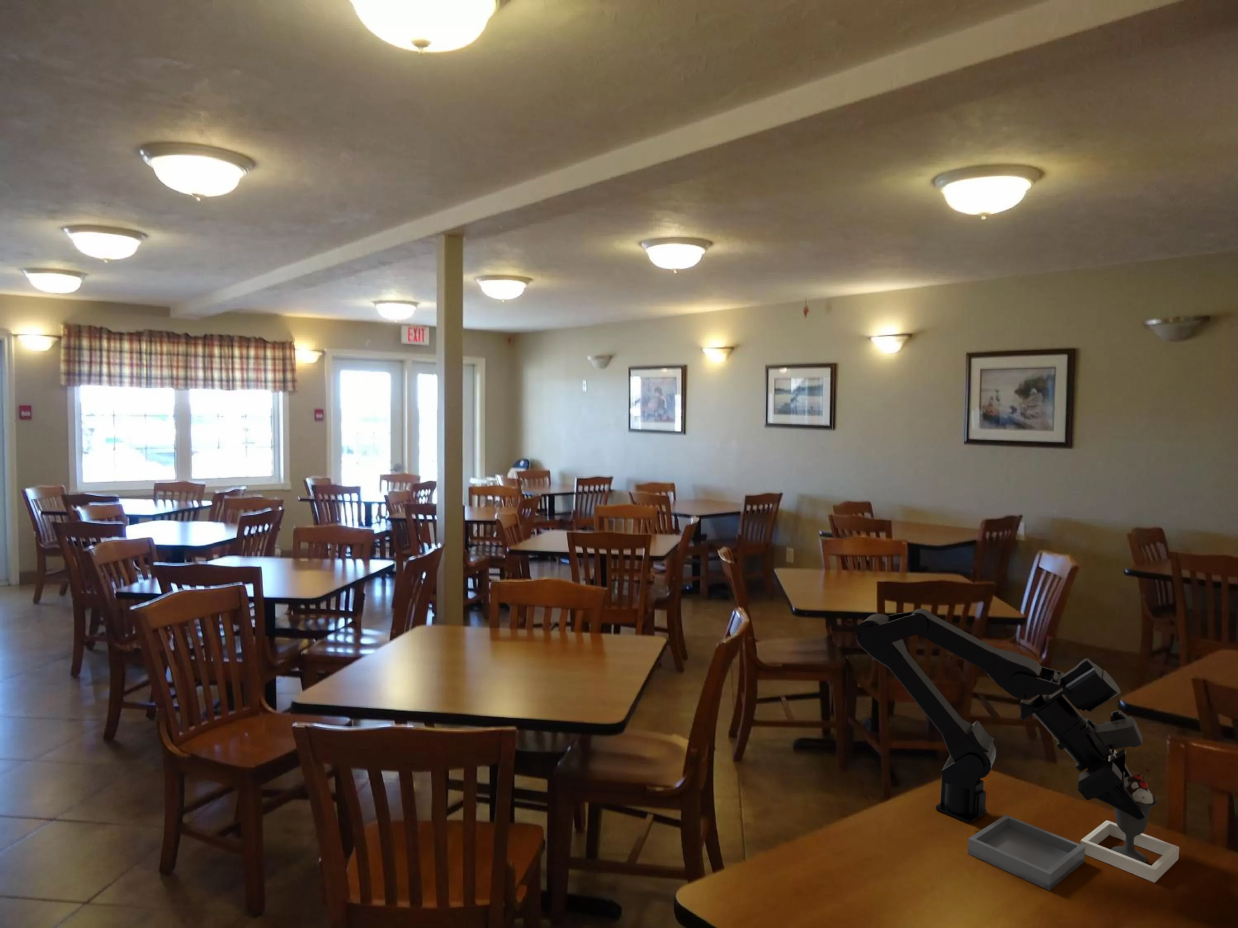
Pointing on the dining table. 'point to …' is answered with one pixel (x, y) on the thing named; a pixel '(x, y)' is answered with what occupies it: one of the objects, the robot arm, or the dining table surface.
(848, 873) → the dining table surface
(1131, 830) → the sundae
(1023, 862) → the tray
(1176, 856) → the white square frame
